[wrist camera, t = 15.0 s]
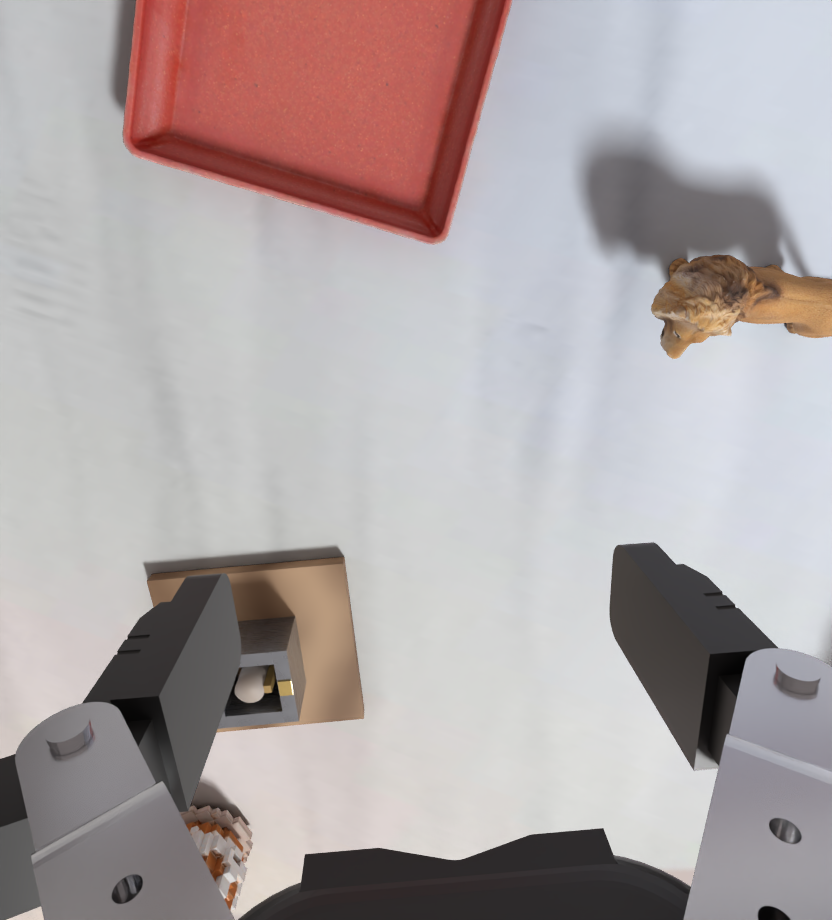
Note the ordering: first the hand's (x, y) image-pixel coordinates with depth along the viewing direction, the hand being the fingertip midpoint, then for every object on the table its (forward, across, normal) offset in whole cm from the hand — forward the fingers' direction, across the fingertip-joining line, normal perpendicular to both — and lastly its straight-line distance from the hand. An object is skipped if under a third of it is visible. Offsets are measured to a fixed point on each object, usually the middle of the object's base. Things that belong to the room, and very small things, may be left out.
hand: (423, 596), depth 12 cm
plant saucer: (+28, +3, -18) cm, 34 cm away
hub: (+26, +12, +21) cm, 36 cm away
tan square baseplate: (+28, +12, +21) cm, 37 cm away
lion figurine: (+28, -21, -3) cm, 35 cm away
